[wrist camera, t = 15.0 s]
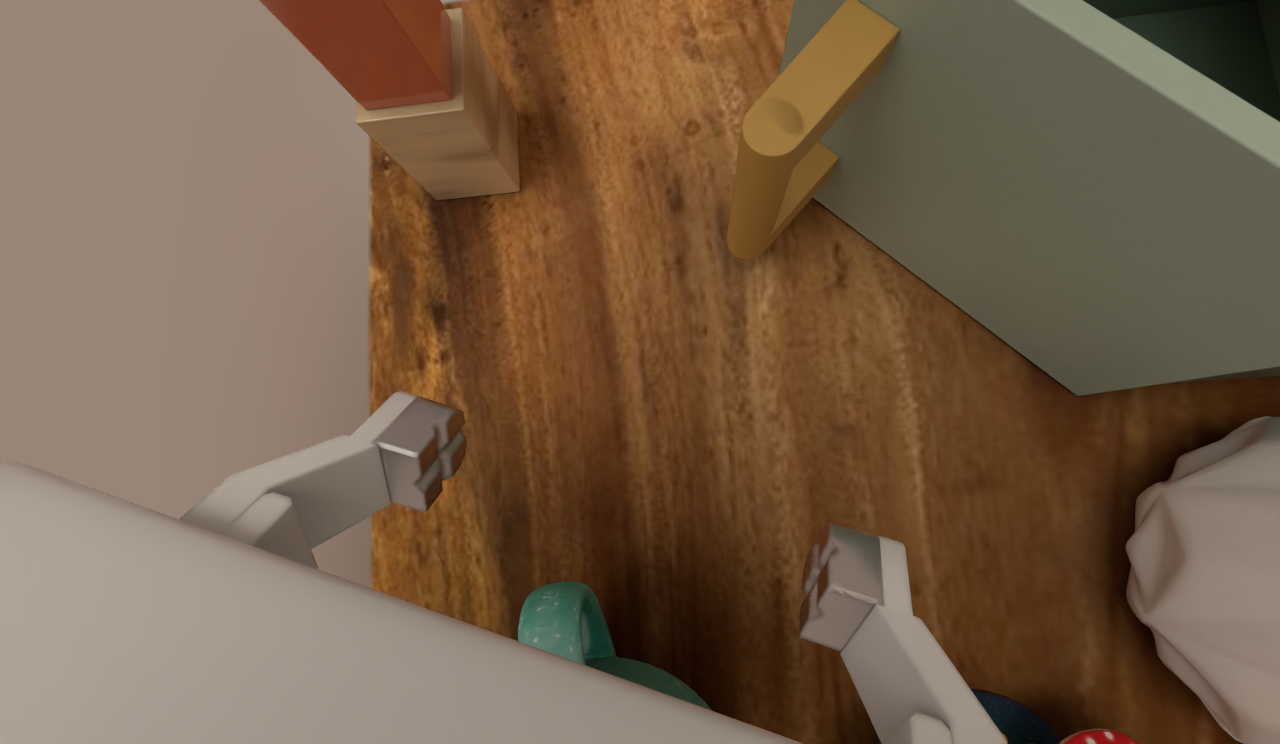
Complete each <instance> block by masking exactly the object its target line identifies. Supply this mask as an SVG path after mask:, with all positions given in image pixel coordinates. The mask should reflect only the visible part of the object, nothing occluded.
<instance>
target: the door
mask: <svg viewBox="0 0 1280 744" xmlns="http://www.w3.org/2000/svg"><path fill="white" fill-rule="evenodd" d="M812 197H813V198H814V199H815V200H817V201H818V202H819V203H821V204H822V205H823V206H825V207H826V208H827V209H829V210H830V211H831V212H833V213H834V214H835V215H837V216H838V217H839V218H841V219H842V220H843V221H845V222H846V223H847V224H849V225H850V226H851V227H853V228H854V229H855V230H857V231H858V232H859V233H861V234H862V235H863V236H865V237H866V238H867V239H869V240H870V241H871V242H873V243H874V244H875V245H877V246H878V247H879V248H881V249H882V250H883V251H885V252H886V253H887V254H889V255H890V256H891V257H893V258H894V259H895V260H897V261H898V262H899V263H901V264H902V265H903V266H905V267H906V268H907V269H909V270H910V271H911V272H913V273H914V274H915V275H917V276H918V277H919V278H921V279H922V280H923V281H925V282H926V283H927V284H929V285H930V286H931V287H933V288H934V289H935V290H937V291H938V292H939V293H941V294H942V295H943V296H945V297H946V298H947V299H949V300H950V301H951V302H953V303H954V304H955V305H957V306H958V307H959V308H961V309H962V310H963V311H965V312H966V313H967V314H969V315H970V316H971V317H973V318H974V319H975V320H977V321H978V322H979V323H981V324H982V325H983V326H985V327H986V328H987V329H989V330H990V331H991V332H993V333H994V334H995V335H997V336H998V337H999V338H1001V339H1002V340H1003V341H1005V342H1006V343H1007V344H1009V345H1010V346H1011V347H1013V348H1014V349H1015V350H1017V351H1018V352H1019V353H1021V354H1022V355H1023V356H1025V357H1026V358H1027V359H1029V360H1030V361H1031V362H1033V363H1034V364H1035V365H1037V366H1038V367H1039V368H1041V369H1042V370H1043V371H1045V372H1046V373H1047V374H1049V375H1050V376H1051V377H1053V378H1054V379H1055V380H1057V381H1058V382H1059V383H1061V384H1062V385H1063V386H1065V387H1066V388H1067V389H1069V390H1070V391H1071V392H1073V393H1074V394H1075V395H1077V396H1083V395H1090V394H1097V393H1103V392H1110V391H1117V390H1124V389H1130V388H1137V387H1144V386H1151V385H1158V384H1164V383H1171V382H1178V381H1185V380H1192V379H1198V378H1205V377H1212V376H1219V375H1226V374H1232V373H1239V372H1246V371H1253V370H1260V369H1266V368H1273V367H1280V122H1279V121H1277V120H1276V119H1274V118H1273V117H1271V116H1269V115H1268V114H1266V113H1264V112H1263V111H1261V110H1260V109H1258V108H1256V107H1255V106H1253V105H1252V104H1250V103H1248V102H1247V101H1245V100H1243V99H1242V98H1240V97H1239V96H1237V95H1235V94H1234V93H1232V92H1230V91H1229V90H1227V89H1226V88H1224V87H1222V86H1221V85H1219V84H1217V83H1216V82H1214V81H1213V80H1211V79H1209V78H1208V77H1206V76H1204V75H1203V74H1201V73H1200V72H1198V71H1196V70H1195V69H1193V68H1192V67H1190V66H1188V65H1187V64H1185V63H1183V62H1182V61H1180V60H1179V59H1177V58H1175V57H1174V56H1172V55H1170V54H1169V53H1167V52H1166V51H1164V50H1162V49H1161V48H1159V47H1157V46H1156V45H1154V44H1153V43H1151V42H1149V41H1148V40H1146V39H1144V38H1143V37H1141V36H1140V35H1138V34H1136V33H1135V32H1133V31H1132V30H1130V29H1128V28H1127V27H1125V26H1123V25H1122V24H1120V23H1119V22H1117V21H1115V20H1114V19H1112V18H1110V17H1109V16H1107V15H1106V14H1104V13H1102V12H1101V11H1099V10H1097V9H1096V8H1094V7H1093V6H1091V5H1089V4H1088V3H1086V2H1084V1H1083V0H795V1H794V5H793V10H792V15H791V20H790V24H789V29H788V34H787V38H786V43H785V48H784V53H783V57H782V62H781V67H780V71H779V76H778V78H777V79H776V80H775V81H774V82H773V83H772V84H771V86H770V87H769V88H768V89H767V90H766V91H765V92H764V93H763V95H762V96H761V97H760V98H759V99H758V100H757V101H756V102H755V104H754V105H753V106H752V107H751V108H750V109H749V111H748V112H747V113H746V115H745V117H744V119H743V123H742V129H741V137H740V144H739V152H738V159H737V167H736V174H735V182H734V190H733V197H732V205H731V212H730V220H729V227H728V235H727V245H728V248H729V250H730V252H731V253H732V254H733V255H734V256H736V257H737V258H739V259H743V260H752V259H756V258H758V257H759V256H761V255H762V254H763V253H764V252H765V251H766V250H767V249H768V247H769V246H770V245H771V244H772V243H773V242H774V241H775V239H776V238H777V237H778V236H779V235H780V234H781V233H782V232H783V230H784V229H785V228H786V227H787V226H788V225H789V224H790V222H791V221H792V220H793V219H794V218H795V217H796V216H797V214H798V213H799V212H800V211H801V210H802V209H803V208H804V206H805V205H806V204H807V203H808V202H809V201H810V200H811V199H812Z"/></svg>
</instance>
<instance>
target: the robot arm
mask: <svg viewBox="0 0 1280 744" xmlns="http://www.w3.org/2000/svg"><path fill="white" fill-rule="evenodd" d="M464 423H465V420H464V413H463V411H461V410H459V409H456V408H453V407H450V406H447V405H444V404H441V403H438V402H435V401H432V400H429V399H426V398H423V397H419V396H416V395H412V394H409V393H406V392H403V391H399V392H396V393H394V394H393V395H392V396H391V397H390V398H389V399H388V400H387V401H386V402H385V403H384V404H383V405H381V406H380V407H379V408H378V409H377V410H376V411H375V412H374V413H373V414H372V415H371V416H370V417H369V418H368V419H367V420H366V421H365V422H364V423H363V424H362V425H361V426H360V427H359V428H358V429H357V430H356V431H355V432H354V433H353V434H352V435H351V436H348V435H345V434H344V435H341V436H339V437H336V438H333V439H330V440H327V441H325V442H322V443H319V444H316V445H313V446H311V447H308V448H305V449H302V450H299V451H297V452H294V453H292V454H288V455H286V456H283V457H280V458H277V459H274V460H271V461H269V462H266V463H263V464H260V465H257V466H255V467H252V468H249V469H246V470H243V471H241V472H238V473H235V474H232V475H230V476H229V477H228V478H227V479H225V480H224V481H223V482H222V483H221V484H220V485H218V486H217V487H216V488H215V489H214V490H212V491H211V492H210V493H209V494H208V495H207V496H206V497H204V498H203V499H202V500H201V501H200V502H198V503H197V504H196V505H195V506H194V507H193V508H191V509H190V510H189V511H188V512H187V513H186V514H185V515H184V516H182V517H181V518H180V519H176V518H173V517H171V516H168V515H165V514H162V513H160V512H156V511H154V510H151V509H148V508H146V507H143V506H140V505H137V504H134V503H132V502H129V501H126V500H123V499H121V498H118V497H115V496H112V495H110V494H107V493H104V492H101V491H98V490H96V489H93V488H90V487H87V486H84V485H82V484H79V483H76V482H73V481H71V480H68V479H65V478H62V477H60V476H57V475H54V474H51V473H49V472H46V471H43V470H41V469H38V468H35V467H32V466H29V465H26V464H22V463H17V462H0V744H803V743H800V742H798V741H795V740H792V739H789V738H786V737H784V736H781V735H778V734H775V733H773V732H770V731H767V730H764V729H761V728H759V727H756V726H753V725H750V724H747V723H745V722H742V721H739V720H736V719H733V718H731V717H728V716H725V715H722V714H720V713H717V712H714V711H711V710H708V709H706V708H703V707H700V706H697V705H694V704H692V703H689V702H686V701H683V700H681V699H678V698H675V697H672V696H669V695H667V694H664V693H661V692H658V691H656V690H653V689H650V688H647V687H644V686H642V685H639V684H636V683H633V682H630V681H628V680H625V679H622V678H619V677H617V676H614V675H611V674H608V673H605V672H603V671H600V670H597V669H594V668H591V667H589V666H586V665H583V664H580V663H578V662H575V661H572V660H569V659H566V658H564V657H561V656H558V655H555V654H552V653H550V652H547V651H544V650H541V649H538V648H536V647H533V646H530V645H527V644H524V643H522V642H519V641H516V640H513V639H510V638H508V637H505V636H502V635H499V634H496V633H494V632H491V631H488V630H485V629H483V628H480V627H477V626H474V625H471V624H469V623H466V622H463V621H460V620H457V619H455V618H452V617H449V616H446V615H443V614H441V613H438V612H435V611H432V610H430V609H427V608H424V607H421V606H418V605H416V604H413V603H410V602H407V601H404V600H402V599H399V598H396V597H393V596H390V595H388V594H385V593H382V592H379V591H377V590H374V589H371V588H368V587H365V586H362V585H360V584H357V583H354V582H351V581H349V580H346V579H343V578H340V577H337V576H335V575H332V574H329V573H326V572H323V571H321V570H318V566H317V563H316V561H315V558H314V556H313V553H312V551H311V549H312V548H314V547H316V546H318V545H319V544H321V543H323V542H325V541H326V540H328V539H330V538H332V537H333V536H335V535H337V534H339V533H341V532H342V531H344V530H346V529H348V528H350V527H351V526H353V525H355V524H357V523H358V522H360V521H362V520H364V519H365V518H367V517H369V516H371V515H373V514H374V513H376V512H378V511H380V510H381V509H383V508H385V507H387V506H389V505H390V504H391V502H393V503H396V504H399V505H403V506H406V507H409V508H413V509H416V510H419V511H423V512H427V511H428V509H429V508H430V507H431V505H432V504H433V503H434V501H435V500H436V499H437V497H438V496H439V495H440V493H441V492H442V491H443V489H442V481H443V480H445V479H447V478H450V477H452V476H454V474H455V473H456V471H457V470H458V469H459V467H460V465H461V463H462V461H463V458H464V456H465V452H466V446H467V443H466V436H465V435H464V434H463V432H462V431H461V429H460V428H461V427H462V426H463V424H464ZM802 589H803V591H804V592H805V594H806V596H807V597H806V598H805V600H804V602H803V604H802V606H801V610H800V629H799V637H801V638H804V639H806V640H809V641H812V642H815V643H817V644H820V645H823V646H826V647H829V648H831V649H834V650H837V651H840V652H841V653H840V655H841V657H842V659H843V661H844V663H845V665H846V668H847V670H848V672H849V674H850V676H851V678H852V681H853V683H854V685H855V687H856V689H857V691H858V694H859V696H860V698H861V700H862V702H863V704H864V707H865V709H866V711H867V713H868V715H869V717H870V720H871V722H872V724H873V726H874V728H875V730H876V733H877V735H878V737H879V739H880V741H881V743H882V744H1007V741H1006V739H1005V738H1004V736H1003V735H1002V734H1001V732H1000V731H999V729H998V728H997V726H996V725H995V724H994V722H993V721H992V719H991V718H990V716H989V715H988V714H987V712H986V711H985V709H984V708H983V706H982V705H981V704H980V702H979V701H978V699H977V698H976V696H975V695H974V694H973V692H972V691H971V689H970V688H969V686H968V685H967V684H966V682H965V681H964V679H963V678H962V676H961V675H960V674H959V672H958V671H957V669H956V668H955V666H954V665H953V664H952V662H951V661H950V659H949V658H948V656H947V655H946V654H945V652H944V651H943V649H942V648H941V646H940V645H939V644H938V642H937V641H936V639H935V638H934V636H933V635H932V634H931V632H930V631H929V629H928V628H927V626H926V625H925V624H924V622H923V621H922V619H921V618H918V617H915V616H913V610H912V601H911V592H910V584H909V575H908V567H907V558H906V549H905V546H904V545H903V543H902V542H898V541H895V540H892V539H888V538H885V537H882V536H878V535H875V534H872V533H869V532H865V531H862V530H858V529H855V528H852V527H848V526H845V525H841V524H838V523H834V522H831V521H826V522H825V523H824V524H823V526H822V528H821V530H820V535H819V542H817V543H815V544H813V545H812V547H811V549H810V551H809V553H808V556H807V559H806V562H805V566H804V572H803V579H802Z"/></svg>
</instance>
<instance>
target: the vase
mask: <svg viewBox="0 0 1280 744" xmlns="http://www.w3.org/2000/svg"><path fill="white" fill-rule="evenodd" d="M1125 547H1126V552H1127V555H1128V558H1129V560H1130V563H1131V568H1130V573H1129V577H1128V583H1127V589H1126V598H1127V601H1128V604H1129V605H1130V607H1131V609H1132V611H1133V613H1134V614H1135V615H1136V617H1137V618H1138V619H1139V620H1140V621H1141V622H1142V623H1144V624H1145V625H1146V626H1148V627H1149V628H1150V629H1151V631H1152V633H1153V636H1154V639H1155V644H1156V652H1157V655H1158V657H1159V658H1160V660H1161V661H1162V662H1163V664H1164V665H1165V666H1166V667H1167V668H1168V669H1170V670H1171V671H1172V672H1173V673H1174V674H1175V675H1176V676H1177V677H1178V678H1179V679H1181V680H1182V681H1183V682H1184V683H1185V684H1186V685H1187V686H1188V687H1189V688H1190V689H1191V690H1192V691H1193V692H1194V693H1195V694H1196V695H1197V696H1198V697H1199V698H1200V700H1201V701H1202V703H1203V704H1204V705H1205V707H1206V708H1207V710H1208V711H1209V712H1210V714H1211V715H1212V716H1213V718H1214V719H1215V720H1216V722H1217V723H1218V724H1219V725H1220V726H1221V727H1222V728H1223V729H1224V730H1225V731H1226V732H1227V733H1228V734H1229V735H1231V736H1232V737H1233V738H1234V739H1235V740H1237V741H1238V742H1241V743H1244V744H1280V417H1269V416H1266V417H1261V418H1257V419H1254V420H1251V421H1249V422H1247V423H1245V424H1243V425H1242V426H1240V427H1238V428H1237V429H1235V430H1234V431H1232V432H1231V433H1230V434H1228V435H1227V436H1225V437H1224V438H1223V439H1221V440H1219V441H1217V442H1214V443H1212V444H1209V445H1206V446H1204V447H1201V448H1198V449H1196V450H1193V451H1190V452H1188V453H1185V454H1183V455H1182V456H1180V457H1179V458H1178V459H1177V461H1176V463H1175V467H1174V470H1173V472H1172V474H1171V476H1170V478H1169V479H1168V480H1167V481H1164V482H1158V483H1155V484H1153V485H1152V486H1150V487H1148V488H1147V489H1146V490H1144V491H1143V492H1142V493H1141V494H1140V495H1139V496H1138V497H1137V499H1136V507H1135V532H1134V533H1133V535H1132V536H1131V537H1130V539H1129V540H1128V541H1127V543H1126V546H1125Z"/></svg>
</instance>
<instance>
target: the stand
mask: <svg viewBox="0 0 1280 744" xmlns="http://www.w3.org/2000/svg"><path fill="white" fill-rule="evenodd" d="M446 11H447V13H448V15H449V17H450V19H451V78H452V99H451V100H445V101H437V102H429V103H421V104H413V105H405V106H397V107H389V108H380V109H372V110H365V109H364V108H363V107H362V106H361V104H360V103H359V102H358V101H357V100H356V123H357V124H358V125H359V126H360V127H361V128H362V129H363V130H364V131H365V132H366V133H367V134H368V135H369V136H370V137H371V138H372V139H373V140H374V141H375V142H376V143H377V144H378V145H380V146H381V147H382V148H383V149H384V150H385V151H386V152H387V153H388V154H389V155H390V156H391V157H392V158H393V159H394V160H395V161H396V162H397V163H398V164H399V165H400V166H401V167H402V168H403V169H405V170H406V171H407V172H408V173H409V174H410V175H411V176H412V177H413V178H414V179H415V180H416V181H417V182H418V183H419V184H420V185H421V186H422V187H423V188H424V189H425V190H426V191H427V192H428V193H430V194H431V195H432V196H433V197H434V198H435V199H436V200H445V199H454V198H464V197H473V196H482V195H492V194H501V193H510V192H519V191H520V178H519V148H518V119H517V110H516V109H515V107H514V105H513V103H512V101H511V99H510V97H509V95H508V94H507V92H506V90H505V88H504V86H503V84H502V82H501V80H500V79H499V77H498V75H497V73H496V71H495V69H494V67H493V65H492V64H491V62H490V60H489V58H488V56H487V54H486V52H485V50H484V49H483V47H482V45H481V43H480V41H479V39H478V37H477V35H476V34H475V32H474V30H473V28H472V26H471V24H470V22H469V20H468V19H467V17H466V15H465V13H464V11H463V9H462V8H456V9H449V10H446Z"/></svg>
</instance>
